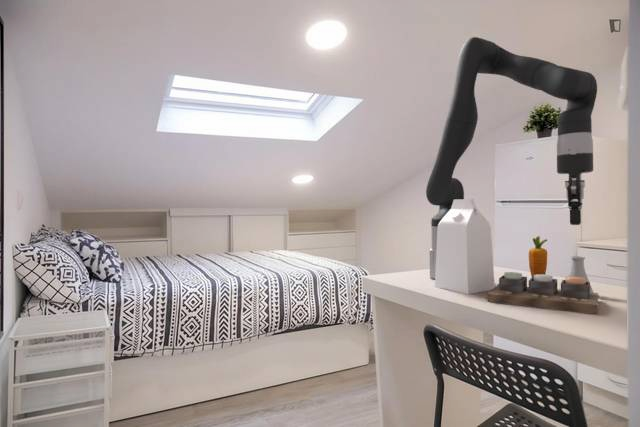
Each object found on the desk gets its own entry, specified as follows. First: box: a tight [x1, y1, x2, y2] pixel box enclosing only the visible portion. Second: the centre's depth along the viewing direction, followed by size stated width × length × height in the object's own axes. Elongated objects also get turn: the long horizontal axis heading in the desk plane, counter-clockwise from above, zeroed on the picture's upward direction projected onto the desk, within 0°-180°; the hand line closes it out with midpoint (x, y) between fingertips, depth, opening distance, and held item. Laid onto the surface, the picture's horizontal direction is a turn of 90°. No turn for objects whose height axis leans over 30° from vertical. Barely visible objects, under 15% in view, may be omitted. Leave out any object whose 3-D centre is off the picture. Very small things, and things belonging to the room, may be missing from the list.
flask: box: [568, 255, 595, 293], centre depth 110 cm, size 7×7×10 cm
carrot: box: [528, 235, 548, 278], centre depth 119 cm, size 5×5×15 cm
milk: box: [434, 198, 496, 295], centre depth 120 cm, size 12×12×26 cm
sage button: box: [503, 271, 523, 280], centre depth 108 cm, size 4×4×2 cm
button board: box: [486, 274, 599, 315], centre depth 103 cm, size 23×14×5 cm, turn 55°
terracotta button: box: [565, 276, 586, 285], centre depth 100 cm, size 4×4×2 cm
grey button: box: [534, 274, 554, 283], centre depth 104 cm, size 4×4×2 cm
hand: (575, 224), depth 100 cm, fingers closed
